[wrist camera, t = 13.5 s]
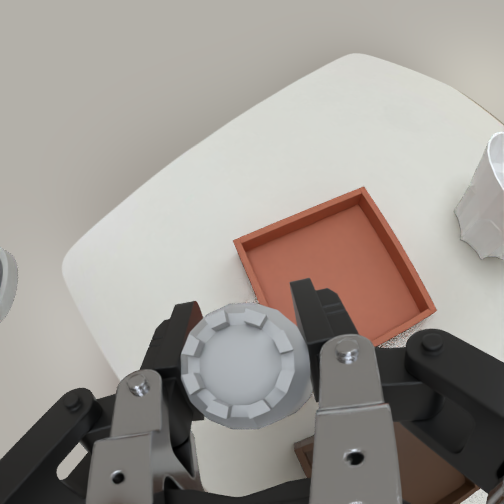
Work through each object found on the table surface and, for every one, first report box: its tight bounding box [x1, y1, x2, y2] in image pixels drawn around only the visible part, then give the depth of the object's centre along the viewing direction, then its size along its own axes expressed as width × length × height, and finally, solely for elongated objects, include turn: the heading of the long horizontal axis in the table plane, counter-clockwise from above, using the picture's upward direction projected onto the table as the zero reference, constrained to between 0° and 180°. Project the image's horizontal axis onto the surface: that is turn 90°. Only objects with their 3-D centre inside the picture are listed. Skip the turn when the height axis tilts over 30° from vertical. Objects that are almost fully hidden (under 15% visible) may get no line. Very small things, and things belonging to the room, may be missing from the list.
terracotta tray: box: [233, 187, 437, 347], centre depth 26 cm, size 13×13×3 cm
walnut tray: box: [294, 422, 480, 504], centre depth 19 cm, size 13×13×3 cm
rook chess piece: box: [181, 302, 313, 429], centre depth 10 cm, size 4×4×8 cm
